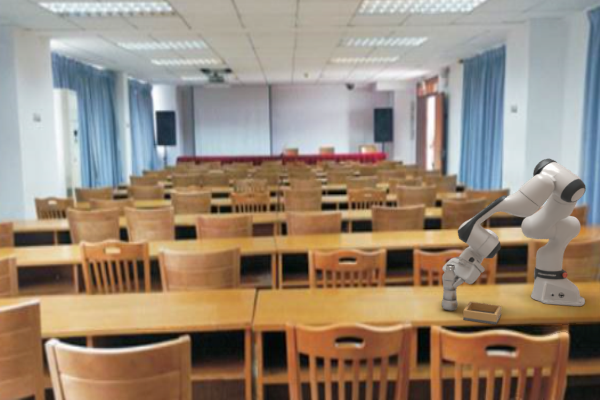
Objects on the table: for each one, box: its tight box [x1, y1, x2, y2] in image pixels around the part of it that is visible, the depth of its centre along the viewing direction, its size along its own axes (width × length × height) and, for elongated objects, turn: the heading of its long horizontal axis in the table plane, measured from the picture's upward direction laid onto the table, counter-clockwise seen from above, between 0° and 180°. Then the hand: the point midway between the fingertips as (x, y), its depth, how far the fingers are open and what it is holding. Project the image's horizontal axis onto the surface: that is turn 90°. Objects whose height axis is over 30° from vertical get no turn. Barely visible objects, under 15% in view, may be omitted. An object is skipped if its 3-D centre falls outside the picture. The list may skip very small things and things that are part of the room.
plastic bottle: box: [441, 264, 458, 311], centre depth 239 cm, size 6×7×20 cm
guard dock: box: [462, 301, 502, 325], centre depth 230 cm, size 13×13×4 cm
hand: (448, 284), depth 239 cm, fingers closed on plastic bottle, 6 cm apart
